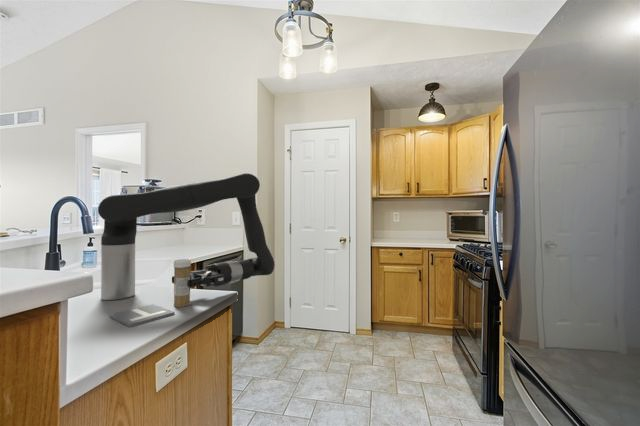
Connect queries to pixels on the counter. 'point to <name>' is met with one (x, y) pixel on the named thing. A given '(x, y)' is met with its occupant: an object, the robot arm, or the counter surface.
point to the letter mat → (141, 315)
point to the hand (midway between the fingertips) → (180, 281)
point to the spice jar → (181, 282)
